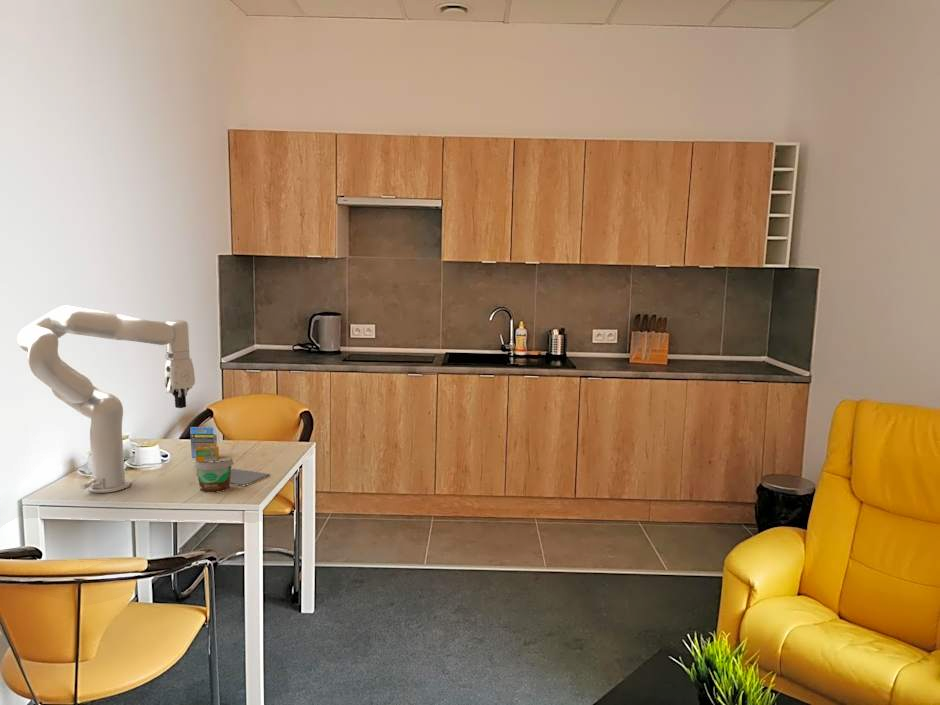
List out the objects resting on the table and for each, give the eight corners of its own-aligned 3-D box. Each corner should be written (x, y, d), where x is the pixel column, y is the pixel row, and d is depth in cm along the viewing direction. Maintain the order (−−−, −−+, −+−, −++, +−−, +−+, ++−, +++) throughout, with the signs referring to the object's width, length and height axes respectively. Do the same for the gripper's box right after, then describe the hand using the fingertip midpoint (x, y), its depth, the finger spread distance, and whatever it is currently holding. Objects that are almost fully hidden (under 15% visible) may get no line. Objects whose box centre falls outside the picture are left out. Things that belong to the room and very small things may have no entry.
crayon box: (220, 473, 264) (218, 441, 262) (217, 475, 261) (216, 443, 259) (198, 473, 263) (197, 441, 262) (196, 476, 260) (194, 443, 259)
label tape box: (218, 456, 285) (216, 424, 283) (214, 459, 281) (213, 427, 279) (195, 456, 285) (193, 424, 283) (191, 459, 281) (189, 427, 279)
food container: (193, 495, 240) (192, 465, 239) (195, 489, 246) (193, 459, 245) (234, 492, 244) (232, 462, 242) (234, 486, 250) (233, 457, 248)
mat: (245, 486, 249) (245, 484, 249) (207, 480, 255) (207, 478, 255) (269, 475, 261) (269, 473, 261) (233, 470, 267) (232, 468, 267)
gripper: (170, 359, 252) (172, 412, 255) (202, 353, 266) (204, 404, 269) (153, 358, 255) (156, 410, 258) (185, 352, 269) (188, 402, 272)
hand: (180, 407), depth 263 cm, fingers closed
